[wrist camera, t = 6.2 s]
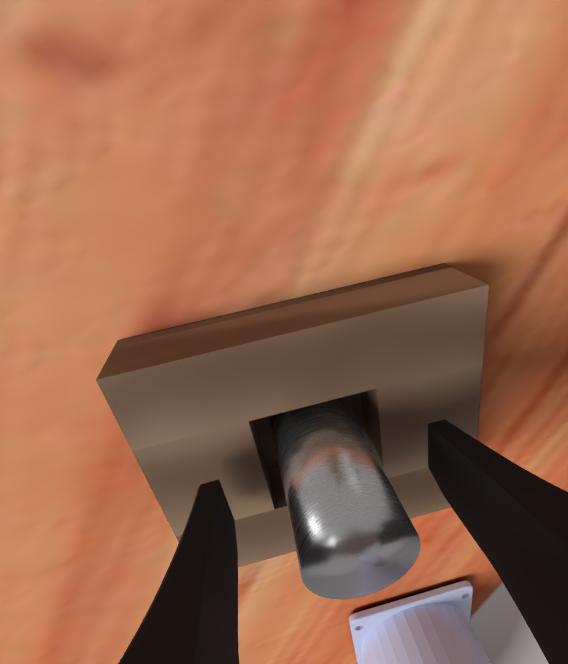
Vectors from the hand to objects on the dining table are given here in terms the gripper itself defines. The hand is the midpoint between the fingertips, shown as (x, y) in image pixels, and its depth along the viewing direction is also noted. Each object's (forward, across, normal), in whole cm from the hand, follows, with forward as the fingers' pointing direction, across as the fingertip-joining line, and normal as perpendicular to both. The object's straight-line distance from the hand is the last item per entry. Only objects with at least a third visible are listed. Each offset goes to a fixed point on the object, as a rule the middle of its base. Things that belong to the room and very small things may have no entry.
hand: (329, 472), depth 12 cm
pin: (+3, 0, 0) cm, 3 cm away
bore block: (+3, 0, 0) cm, 3 cm away
